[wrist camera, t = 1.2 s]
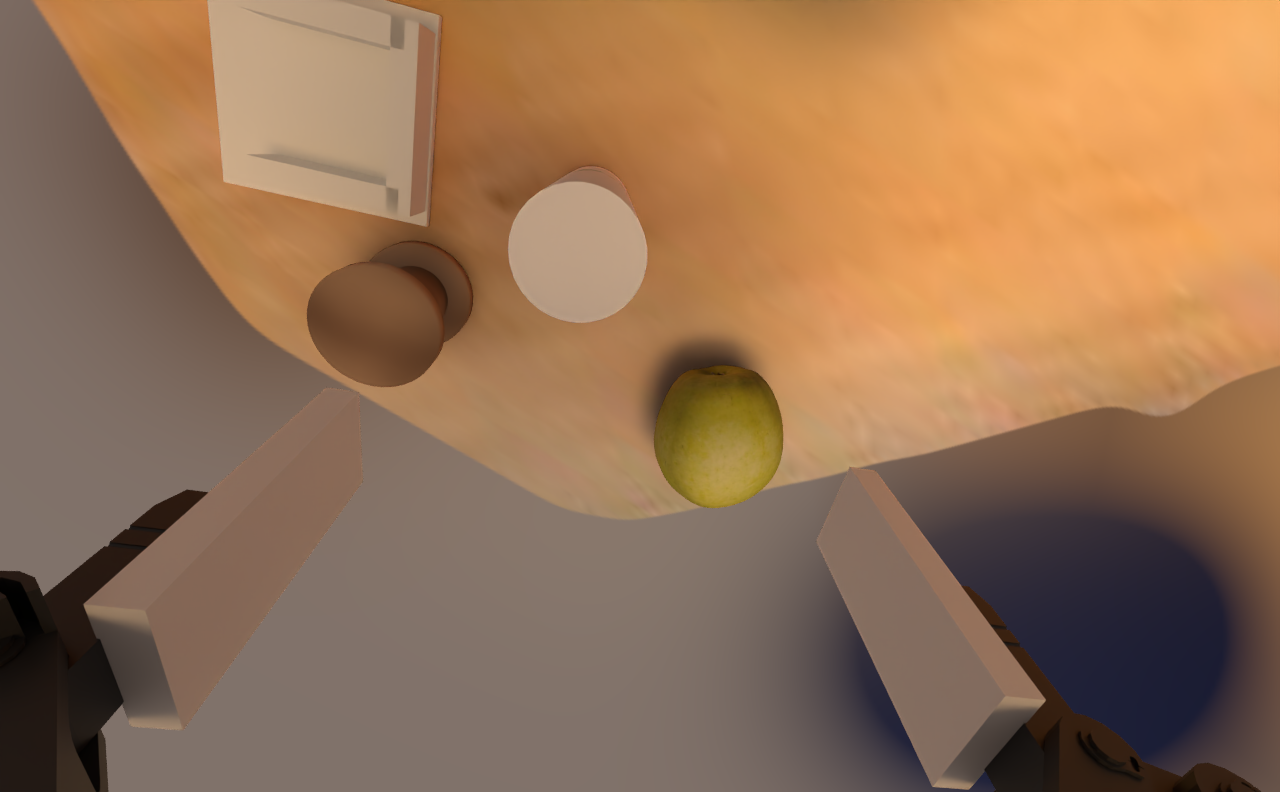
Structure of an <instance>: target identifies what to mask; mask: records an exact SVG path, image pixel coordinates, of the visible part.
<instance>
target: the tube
mask: <svg viewBox="0 0 1280 792" xmlns="http://www.w3.org/2000/svg"><path fill="white" fill-rule="evenodd" d="M508 255H509V264H510V267H511V271H512V274H513V277H514V279H515V281H516V283H517V285H518V287H519V288H520V290H521V292H522V293H523V294H524V295H525V296H526V298H527V299H528V300H529V301H530V302H531V303H532V304H533V305H534V306H536V307H537V308H538V309H539V310H541V311H542V312H544V313H546V314H548V315H549V316H551V317H554V318H557V319H559V320H562V321H568V322H573V323H589V322H593V321H598V320H602V319H604V318H606V317H609V316H611V315H613V314H615V313H616V312H618V311H619V310H621V309H622V308H623V307H625V306H626V305H627V303H628V302H629V301H630V300H631V299H632V298H633V297H634V295H635V294H636V292H637V291H638V289H639V288H640V285H641V283H642V281H643V278H644V276H645V271H646V266H647V245H646V239H645V234H644V232H643V229H642V227H641V224H640V222H639V219H638V217H637V214H636V212H635V209H634V207H633V204H632V202H631V200H630V197H629V195H628V193H627V190H626V188H625V186H624V185H623V183H622V182H621V180H620V179H619V178H618V177H617V176H616V175H615V174H613V173H612V172H610V171H609V170H606V169H604V168H601V167H597V166H585V167H581V168H578V169H576V170H574V171H572V172H570V173H569V174H567V175H565V176H564V177H562V178H560V179H559V180H557V181H556V182H554V183H552V184H551V185H549V186H548V187H546V188H544V189H543V190H541V191H539V192H538V193H537V194H536V195H534V196H533V197H532V198H531V199H529V200H528V201H527V202H526V204H525V205H524V206H523V207H522V208H521V210H520V211H519V213H518V214H517V216H516V218H515V220H514V222H513V225H512V228H511V231H510V235H509V244H508Z"/></svg>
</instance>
